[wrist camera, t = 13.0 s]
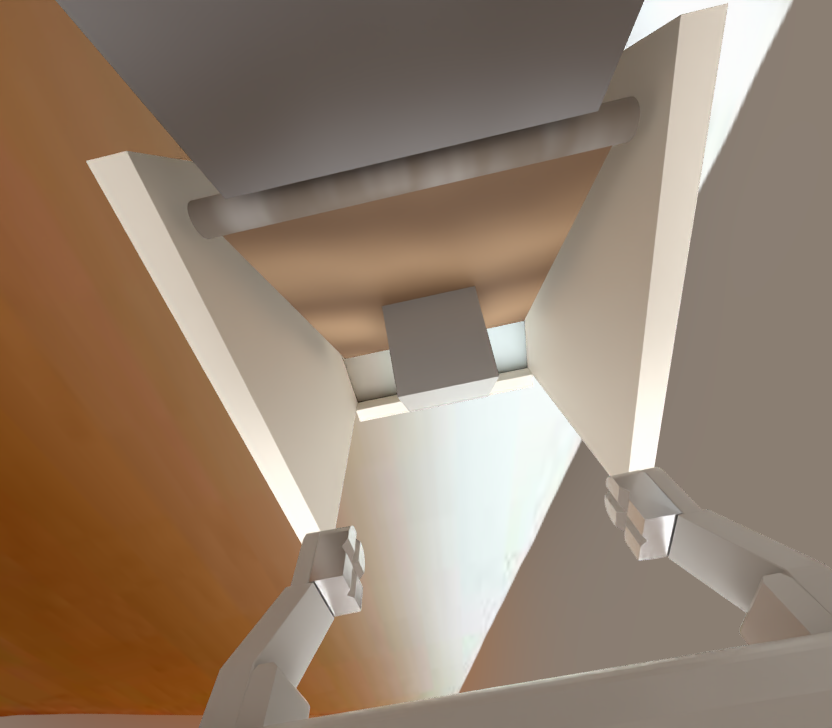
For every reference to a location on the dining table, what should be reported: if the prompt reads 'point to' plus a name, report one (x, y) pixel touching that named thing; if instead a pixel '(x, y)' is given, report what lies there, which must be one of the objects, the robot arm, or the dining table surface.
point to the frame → (544, 324)
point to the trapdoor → (381, 138)
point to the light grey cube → (440, 349)
